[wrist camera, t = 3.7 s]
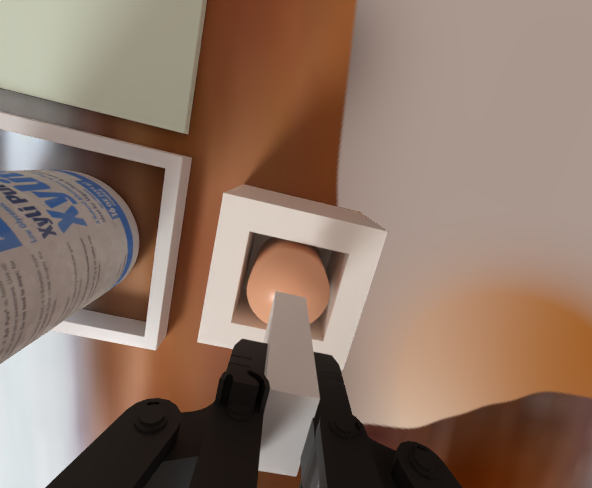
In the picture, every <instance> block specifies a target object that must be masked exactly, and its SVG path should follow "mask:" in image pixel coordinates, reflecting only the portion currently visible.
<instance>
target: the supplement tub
mask: <svg viewBox="0 0 592 488" xmlns="http://www.w3.org/2000/svg"><path fill="white" fill-rule="evenodd" d="M138 252H139V232H138V228H137V224H136V221H135V219H134V216H133V214H132V212H131V210H130V209H129V207H128V205H127V204H126V203H125V201H124V200H123V199H122V198H121V197H120V196H119V195H118V194H117V193H116V192H115V191H114V190H113V189H112V188H111V187H109V186H108V185H107V184H105V183H104V182H102V181H100V180H98V179H96V178H94V177H92V176H90V175H87V174H84V173H80V172H76V171H69V170H27V171H0V364H1V363H2V362H4V361H5V360H7V359H8V358H10V357H11V356H13V355H14V354H16V353H17V352H18V351H20V350H21V349H23V348H24V347H26V346H27V345H29V344H30V343H32V342H33V341H35V340H36V339H38V338H39V337H41V336H42V335H44V334H45V333H47V332H48V331H50V330H51V329H53V328H54V327H56V326H57V325H59V324H60V323H62V322H63V321H64V320H66V319H67V318H69V317H70V316H72V315H73V314H75V313H76V312H78V311H79V310H81V309H82V308H84V307H85V306H87V305H88V304H90V303H91V302H93V301H94V300H96V299H97V298H99V297H100V296H102V295H103V294H105V293H106V292H108V291H109V290H110V289H112V288H113V287H114V286H116V285H117V284H119V283H120V282H121V281H122V280H124V278H125V277H126V276H127V275H128V274H129V273H130V271H131V270H132V268H133V266H134V264H135V262H136V259H137V256H138Z"/></svg>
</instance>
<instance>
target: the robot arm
mask: <svg viewBox="0 0 592 488" xmlns="http://www.w3.org/2000/svg"><path fill="white" fill-rule="evenodd" d="M300 463H301V481H300V485H299V488H462V487H461V485H460V484H459V483H458V481H457V480H456V479H455V477H454V476H453V474H452V473H451V472H450V470H449V469H448V468H447V466H446V465H445V464H444V462H443V461H442V460H441V459H440V458H439V457H438V456H437V455H436V454H435V453H434V452H433V451H431V450H430V449H429V448H427V447H426V446H423V445H421V444H419V443H417V442H411V441H406V442H403V443H401V444H400V445H399V447H398V448H397V450H396V451H395V450H392V449H390V448H388V447H386V446H384V445H382V444H379V443H377V442H376V441H374V440H372V439H370V438H369V437H368V436H367V432H366V430H365V428H364V426H363V424H362V423H361V422H360V421H359V420H358V419H357V418H356V417H355V416H353V415H352V412H351V408H350V404H349V400H348V396H347V393H346V389H345V385H344V381H343V377H342V374H341V370H340V366H339V364H338V363H337V361H336V360H335V359H334V357H333V356H332V355H328V354H323V353H318V352H313V345H312V338H311V331H310V323H309V316H308V309H307V302H306V297H301V296H297V295H292V294H287V293H282V292H278V291H275V295H274V299H273V303H272V308H271V312H270V316H269V320H268V324H267V329H266V333H265V337H264V341H263V343H262V342H257V341H252V340H247V339H241V340H240V341H239V342H238V343H236V344H235V345H234V348H233V351H232V354H231V358H230V361H229V364H228V368H227V371H226V372H224V373H223V374H222V376H221V378H220V379H219V384H218V389H217V394H216V399H215V401H214V402H213V403H212V404H211V405H209V406H208V407H206V408H204V409H201V410H198V411H193V412H184V413H181V412H180V410H179V409H178V407H177V406H176V405H175V404H174V403H172V402H171V401H169V400H165V399H160V398H154V399H146V400H143V401H140V402H138V403H136V404H134V405H133V406H131V407H130V408H128V409H127V410H126V411H125V412H124V413H123V414H122V415H121V416H120V417H119V418H118V419H117V420H116V421H114V422H113V423H112V424H111V425H110V426H109V427H108V428H107V429H106V430H105V431H104V432H103V433H102V434H101V435H100V436H99V437H98V438H97V439H96V440H95V441H94V442H93V443H92V444H90V445H89V446H88V447H87V448H86V449H85V450H84V451H83V452H82V453H81V454H80V455H79V456H78V457H77V458H76V459H75V460H74V461H73V462H72V463H71V464H70V465H69V466H67V467H66V468H65V469H64V470H63V471H62V472H61V473H60V474H59V475H58V476H57V477H56V478H55V479H54V480H53V481H52V482H51V483H50V484H49V485H48V486H47V487H46V488H257V478H258V471H264V472H270V473H276V474H282V475H288V476H295V477H296V476H297V473H298V470H299V466H300Z"/></svg>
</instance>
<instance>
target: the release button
mask: <svg viewBox="0 0 592 488" xmlns="http://www.w3.org/2000/svg"><path fill="white" fill-rule="evenodd" d="M275 291H278V292H282V293H287V294H292V295H297V296H301V297H306V302H307V309H308V316H309V323H312V322H314V321H315V320H316V319H317V318H318V317H319V316H320V315H321V314H322V313H323V311H324V310H325V308H326V306H327V304H328V301H329V296H330V286H329V281H328V278H327V275H326V272H325V269H324V266H323V263H322V260H321V257H320V254H319V251H318V249H317V247H316V246H312V245H307V244H303V243H299V242H294V241H290V240H285V239H281V238H277V237H271V238H269V239H268V240H267V241H266V242H265V243H264V244H263V245H262V247H261V248H260V250H259V252H258V255H257V258H256V261H255V263H254V266H253V269H252V272H251V274H250V277H249V280H248V284H247V298H248V302H249V305H250V307H251V309H252V310H253V312H254V313H255V315H256V316H257V317H258V318H259V319H260V320H262V321H263V322H264V323H266V324H268V320H269V316H270V312H271V308H272V303H273V299H274V295H275Z"/></svg>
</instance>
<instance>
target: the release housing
mask: <svg viewBox="0 0 592 488" xmlns="http://www.w3.org/2000/svg"><path fill="white" fill-rule="evenodd" d="M387 234H388V231H386V230H385V229H384V228H382V227H381V226H379V225H378V224H376V223H375V222H373V221H372V220H370V219H369V218H367V217H366V216H365V215H363V214H362V213H360V212H358V211H354V210H349V209H345V208H341V207H337V206H333V205H329V204H324V203H320V202H316V201H312V200H308V199H303V198H299V197H295V196H291V195H287V194H283V193H278V192H274V191H270V190H266V189H262V188H257V187H253V186H249V185H245V184H243V185H241V186H239V187H236V188H234V189H231V190H229V191H227V192H224V193H223V199H222V205H221V210H220V216H219V222H218V227H217V233H216V239H215V244H214V250H213V256H212V261H211V267H210V273H209V278H208V284H207V290H206V295H205V301H204V307H203V312H202V318H201V324H200V329H199V335H198V341H197V342H199V343H204V344H209V345H214V346H220V347H225V348H230V349H233V348H234V345H235V344H236V343H238V342H239V341H240V340H241V339H247V340H252V341H257V342H262V343H263V341H264V337H265V333H266V329H267V324H266V323H264V322H263V321H262V320H260V319H259V318H258V317H257V316H256V315H255V313H254V312H253V310H252V309H251V307H250V305H249V302H248V298H247V284H248V280H249V277H250V274H251V272H252V269H253V266H254V263H255V261H256V258H257V255H258V252H259V250H260V248H261V247H262V245H263V244H264V243H265V242H266V241H267V240H268V239H269V238H271V237H277V238H281V239H285V240H290V241H294V242H299V243H303V244H307V245H312V246H316V247H317V249H318V251H319V254H320V257H321V260H322V263H323V266H324V269H325V272H326V275H327V278H328V281H329V286H330V296H329V301H328V304H327V306H326V308H325V310H324V311H323V313H322V314H321V315H320V316H319V317H318V318H317V319H316V320H315V321H314V322H312V323H310V331H311V338H312V345H313V352H318V353H323V354H328V355H332V356H333V357H334V359H335V360H336V361H337V363H338V364H339V366H340V370H342V371H343V369H344V366H345V362H346V360H347V357H348V354H349V351H350V347H351V344H352V341H353V339H354V335H355V332H356V329H357V326H358V323H359V320H360V317H361V314H362V310H363V308H364V305H365V301H366V298H367V295H368V292H369V289H370V286H371V283H372V279H373V277H374V274H375V271H376V268H377V264H378V261H379V258H380V255H381V252H382V249H383V246H384V243H385V240H386V237H387Z"/></svg>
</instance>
